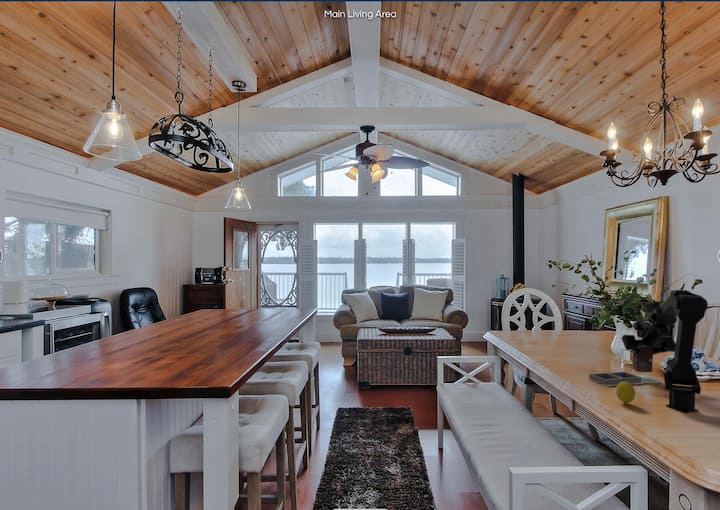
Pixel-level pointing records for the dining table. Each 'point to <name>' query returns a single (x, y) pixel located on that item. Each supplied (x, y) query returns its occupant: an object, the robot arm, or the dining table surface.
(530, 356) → the dining table surface
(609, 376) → the tray
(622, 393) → the lemon
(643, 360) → the box
